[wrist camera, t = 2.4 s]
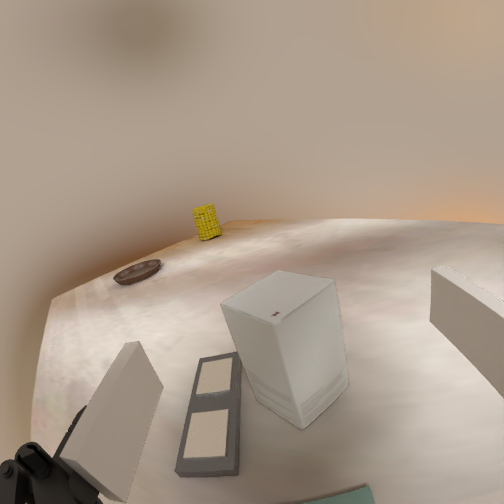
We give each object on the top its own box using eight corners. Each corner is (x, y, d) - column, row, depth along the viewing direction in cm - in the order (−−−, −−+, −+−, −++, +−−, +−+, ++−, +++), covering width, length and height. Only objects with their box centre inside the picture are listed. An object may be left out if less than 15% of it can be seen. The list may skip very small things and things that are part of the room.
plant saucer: (161, 262, 101) (158, 255, 100) (165, 274, 84) (162, 265, 84) (118, 279, 95) (115, 271, 94) (114, 293, 79) (110, 285, 78)
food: (200, 246, 114) (206, 241, 124) (224, 233, 111) (229, 229, 121) (182, 213, 111) (190, 210, 121) (206, 199, 109) (212, 197, 118)
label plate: (241, 358, 36) (238, 349, 35) (238, 475, 18) (232, 468, 18) (202, 365, 36) (198, 356, 36) (180, 477, 19) (173, 469, 18)
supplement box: (351, 385, 25) (338, 278, 22) (301, 432, 22) (271, 325, 18) (302, 363, 31) (278, 267, 28) (254, 399, 28) (216, 301, 24)
